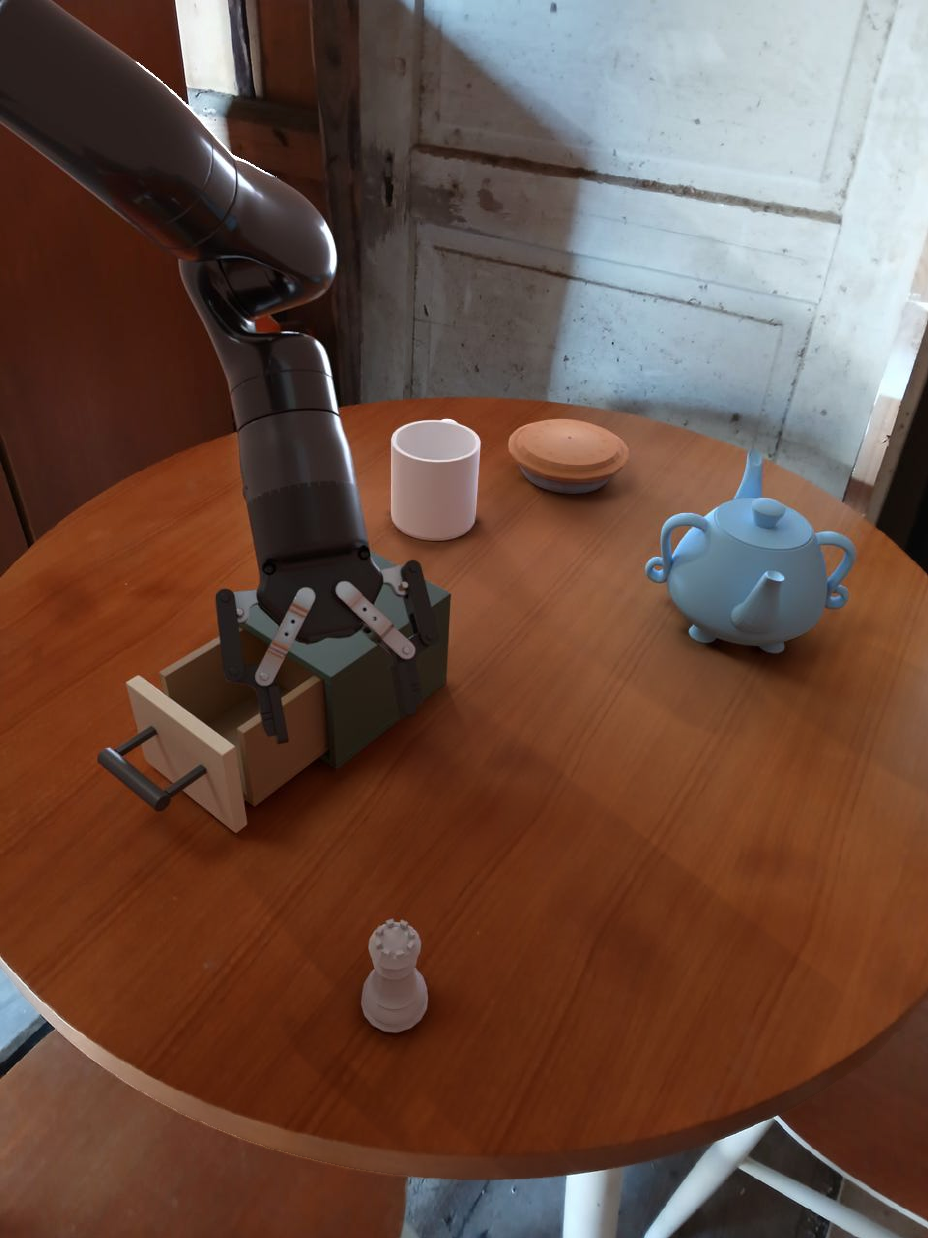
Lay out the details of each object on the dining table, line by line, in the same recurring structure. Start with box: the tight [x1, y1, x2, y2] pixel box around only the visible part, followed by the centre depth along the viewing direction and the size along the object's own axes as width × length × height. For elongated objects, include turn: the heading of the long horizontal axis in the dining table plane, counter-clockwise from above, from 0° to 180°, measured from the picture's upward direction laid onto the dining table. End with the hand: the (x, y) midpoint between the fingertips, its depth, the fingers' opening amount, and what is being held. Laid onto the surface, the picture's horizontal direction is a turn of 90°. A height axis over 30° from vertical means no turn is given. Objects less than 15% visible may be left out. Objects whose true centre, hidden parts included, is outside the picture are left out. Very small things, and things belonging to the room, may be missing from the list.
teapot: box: [644, 448, 857, 654], centre depth 91 cm, size 16×20×14 cm
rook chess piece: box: [360, 918, 429, 1033], centre depth 58 cm, size 4×4×8 cm
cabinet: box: [239, 550, 452, 771], centre depth 80 cm, size 15×13×11 cm
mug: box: [390, 418, 481, 542], centre depth 105 cm, size 13×10×10 cm
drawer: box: [96, 625, 329, 834], centre depth 72 cm, size 18×11×9 cm, turn 141°
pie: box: [507, 418, 630, 495], centre depth 116 cm, size 15×16×5 cm
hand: (347, 730), depth 60 cm, fingers open, 8 cm apart
